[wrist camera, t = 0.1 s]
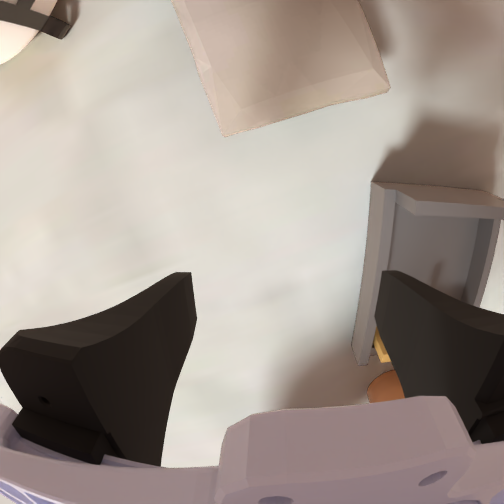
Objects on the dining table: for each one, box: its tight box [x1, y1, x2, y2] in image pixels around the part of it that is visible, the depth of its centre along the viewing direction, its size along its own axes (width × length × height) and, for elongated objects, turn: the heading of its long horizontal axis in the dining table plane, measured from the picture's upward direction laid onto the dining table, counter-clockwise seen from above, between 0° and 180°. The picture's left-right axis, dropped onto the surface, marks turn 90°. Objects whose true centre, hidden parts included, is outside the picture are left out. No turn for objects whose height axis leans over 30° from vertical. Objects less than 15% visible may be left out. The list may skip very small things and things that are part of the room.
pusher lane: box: [351, 182, 504, 366], centre depth 20 cm, size 14×11×6 cm
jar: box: [367, 370, 405, 403], centre depth 24 cm, size 5×5×8 cm
